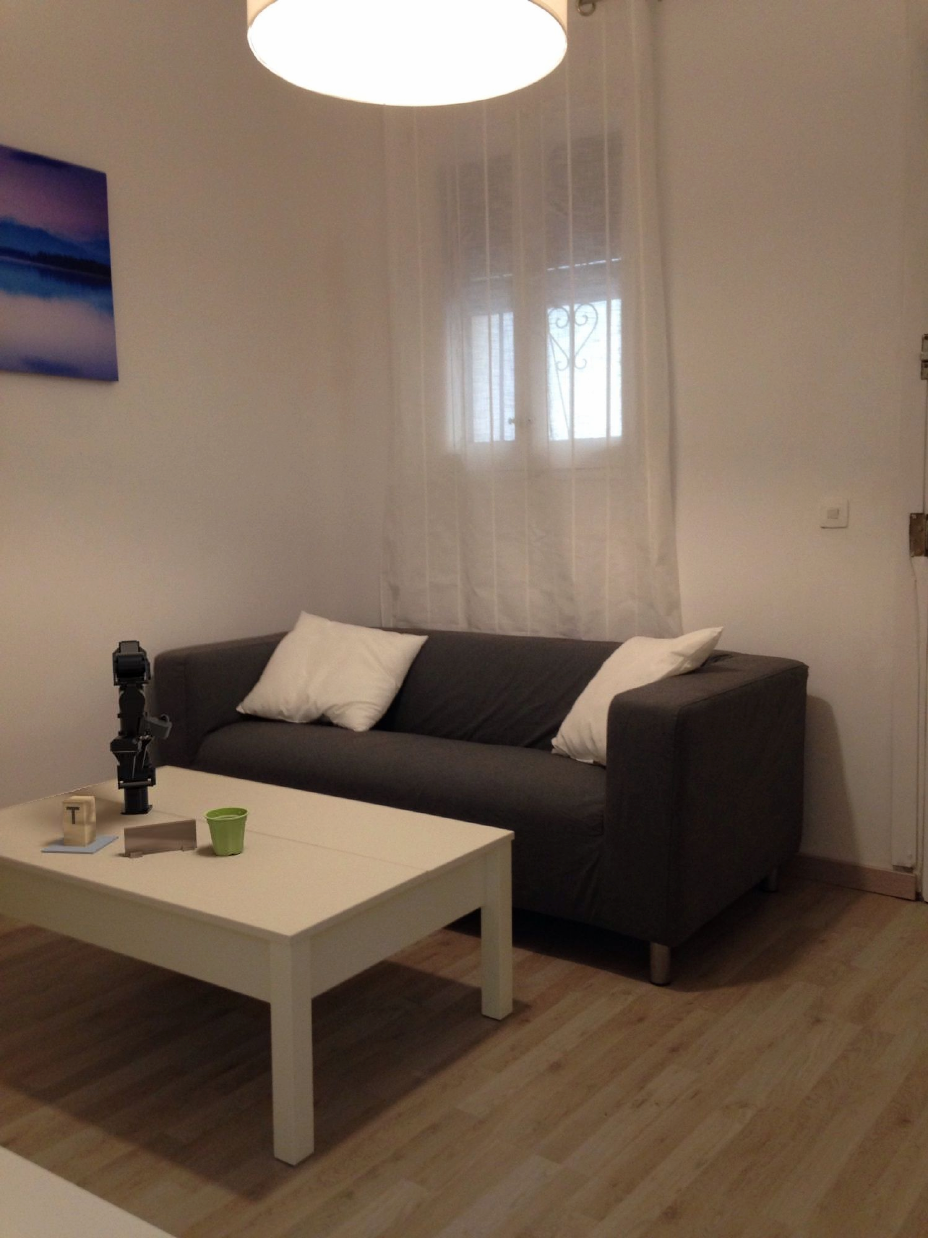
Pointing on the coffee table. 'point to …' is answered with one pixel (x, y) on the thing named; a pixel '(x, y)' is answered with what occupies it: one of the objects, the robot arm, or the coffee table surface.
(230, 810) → the plant pot
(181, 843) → the walnut screen
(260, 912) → the coffee table surface
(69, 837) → the letter block
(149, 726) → the robot arm
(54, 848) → the felt mat
